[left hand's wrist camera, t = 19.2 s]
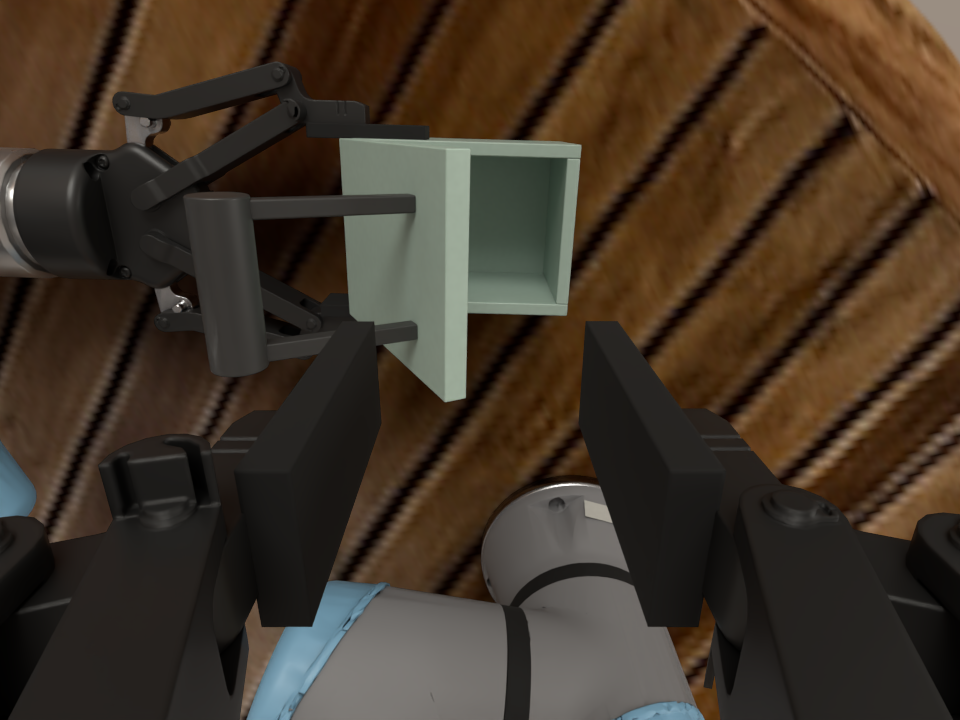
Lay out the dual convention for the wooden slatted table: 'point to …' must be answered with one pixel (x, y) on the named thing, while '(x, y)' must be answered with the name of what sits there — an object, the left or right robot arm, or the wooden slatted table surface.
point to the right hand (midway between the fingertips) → (427, 224)
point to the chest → (519, 223)
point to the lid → (351, 261)
